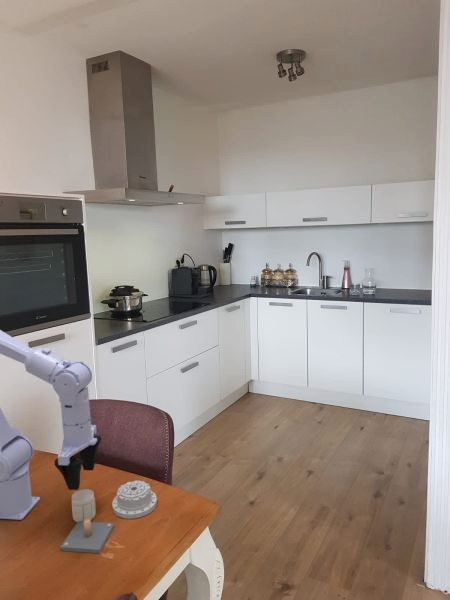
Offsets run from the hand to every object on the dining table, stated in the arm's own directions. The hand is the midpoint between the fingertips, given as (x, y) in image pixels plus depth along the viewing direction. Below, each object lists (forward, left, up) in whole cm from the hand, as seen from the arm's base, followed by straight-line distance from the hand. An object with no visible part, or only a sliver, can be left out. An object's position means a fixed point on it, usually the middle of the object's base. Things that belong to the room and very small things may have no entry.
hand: (81, 478), depth 101 cm
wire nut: (0, 0, -9) cm, 9 cm away
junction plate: (+4, -7, -9) cm, 12 cm away
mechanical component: (+10, +5, -9) cm, 14 cm away
